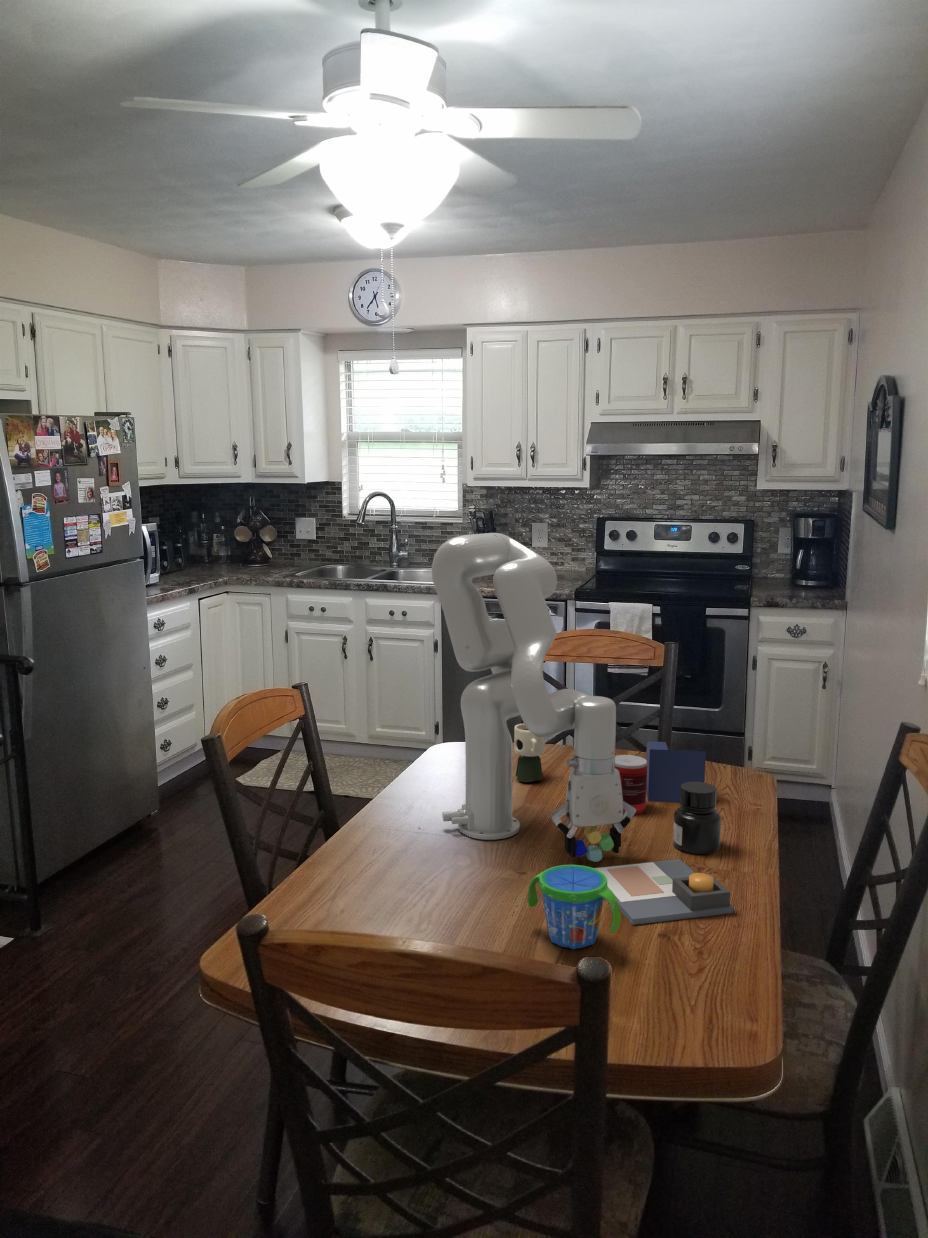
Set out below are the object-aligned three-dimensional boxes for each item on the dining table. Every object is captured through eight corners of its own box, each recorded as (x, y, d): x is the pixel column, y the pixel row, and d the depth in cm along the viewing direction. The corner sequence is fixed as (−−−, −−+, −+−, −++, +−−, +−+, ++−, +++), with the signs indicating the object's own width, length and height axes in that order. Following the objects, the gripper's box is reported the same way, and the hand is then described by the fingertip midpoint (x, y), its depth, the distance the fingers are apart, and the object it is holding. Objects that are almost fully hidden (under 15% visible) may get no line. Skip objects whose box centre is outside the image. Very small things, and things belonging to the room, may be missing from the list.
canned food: (620, 800, 210) (621, 752, 208) (652, 808, 205) (654, 759, 203) (602, 809, 204) (603, 760, 203) (634, 818, 199) (636, 768, 198)
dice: (573, 863, 177) (574, 830, 176) (570, 857, 180) (570, 825, 178) (615, 861, 178) (616, 828, 177) (611, 855, 181) (612, 823, 180)
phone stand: (696, 785, 220) (698, 735, 218) (703, 803, 208) (705, 751, 206) (643, 783, 221) (645, 734, 219) (648, 801, 210) (649, 749, 208)
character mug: (509, 773, 228) (509, 721, 226) (538, 772, 229) (538, 720, 227) (519, 788, 218) (520, 734, 215) (549, 787, 219) (550, 732, 217)
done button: (695, 898, 157) (696, 884, 157) (684, 887, 161) (684, 874, 161) (717, 895, 158) (718, 881, 158) (705, 885, 162) (706, 872, 162)
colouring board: (632, 925, 153) (633, 904, 153) (588, 873, 172) (588, 855, 172) (733, 913, 157) (734, 893, 157) (679, 864, 176) (680, 846, 176)
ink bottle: (682, 833, 191) (684, 776, 189) (725, 842, 187) (728, 784, 185) (666, 850, 183) (668, 790, 181) (711, 860, 178) (714, 799, 177)
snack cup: (512, 934, 150) (512, 873, 149) (553, 912, 158) (554, 853, 156) (593, 970, 140) (595, 905, 138) (633, 944, 147) (635, 882, 146)
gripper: (556, 773, 170) (555, 866, 173) (646, 766, 174) (643, 856, 177) (543, 761, 177) (542, 850, 180) (630, 754, 181) (627, 841, 184)
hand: (592, 852), depth 179 cm, fingers closed on dice, 8 cm apart
